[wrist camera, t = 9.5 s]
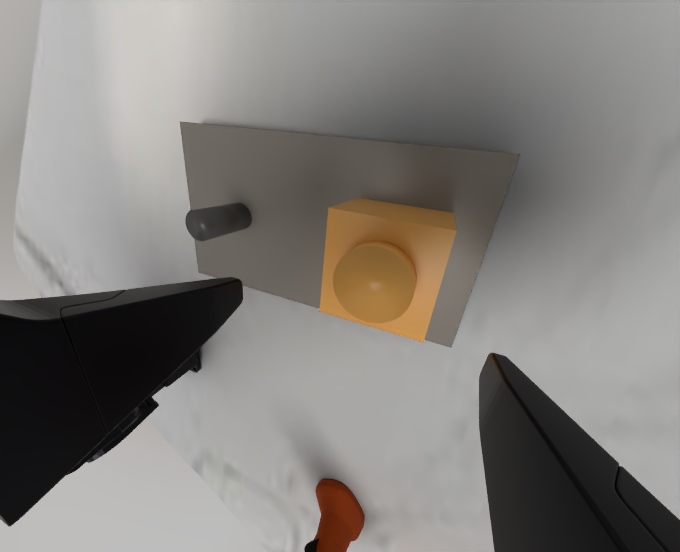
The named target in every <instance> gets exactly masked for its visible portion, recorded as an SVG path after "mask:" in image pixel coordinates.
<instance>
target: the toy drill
mask: <svg viewBox="0 0 680 552" xmlns="http://www.w3.org/2000/svg"><path fill="white" fill-rule="evenodd" d="M316 495H317V499H318V503H319V507H320V511H321V519H320V523H319V527H318V532H317V534H316V536H315V539H314V540H313V541H311V542H309V543H308V544H307V545H306V546H305V552H346V551H347V548H348V546H349V544H350V542H351V541H355V540H356V539H357V538H358V537H359V535H360V533H361V530H362V528H363V525H364V515H363V512H362V510H361V507H360V505H359V504H358V502H357V500H356V498H355V497H354V495H353V494H352V493H351V491H350V490H349V489H348V488H347V487H346V486H345V485H343V484H342V483H340V482H338V481H335V480H331V479H324V480H321V481H320V482H319V483H318V485H317V487H316Z"/></svg>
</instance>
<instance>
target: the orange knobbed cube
mask: <svg viewBox="0 0 680 552" xmlns="http://www.w3.org/2000/svg"><path fill="white" fill-rule="evenodd" d="M456 231H457V229H456V224H455V219H454V214H453V213H451V212H445V211H439V210H432V209H426V208H420V207H414V206H407V205H401V204H395V203H389V202H382V201H376V200H370V199H364V198H357V199H354V200H351V201H348V202H345V203H342V204H339V205H336V206H333V207H329V208H328V218H327V229H326V241H325V252H324V264H323V275H322V287H321V298H320V310H319V311H320V312H323V313H327V314H330V315H333V316H337V317H340V318H343V319H347V320H350V321H353V322H357V323H360V324H363V325H367V326H370V327H373V328H377V329H380V330H384V331H387V332H390V333H394V334H397V335H400V336H404V337H407V338H410V339H414V340H417V341H420V342H424V339H425V336H426V333H427V329H428V326H429V322H430V319H431V316H432V312H433V309H434V306H435V302H436V299H437V295H438V292H439V289H440V285H441V282H442V279H443V275H444V272H445V268H446V265H447V262H448V258H449V255H450V252H451V248H452V245H453V241H454V238H455V235H456Z"/></svg>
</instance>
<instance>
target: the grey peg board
mask: <svg viewBox="0 0 680 552" xmlns="http://www.w3.org/2000/svg"><path fill="white" fill-rule="evenodd" d="M180 127H181V135H182V143H183V151H184V159H185V167H186V175H187V183H188V191H189V199H190V207H191V211H189V212H188V213H187V215H186V226H187V229H188V231H189V233H190V234H191V236H192V237H193V238H194V239H195V247H196V255H197V263H198V271H199V273H202V274H206V275H209V276H213V277H216V278H226V277H234V278H237V279H240V280H241V281H242V285H243V286H246V287H249V288H253V289H256V290H260V291H263V292H266V293H270V294H273V295H276V296H280V297H283V298H286V299H290V300H293V301H296V302H300V303H303V304H307V305H310V306H313V307H317V308H320V298H321V287H322V275H323V264H324V252H325V241H326V229H327V218H328V208H329V207H333V206H336V205H339V204H342V203H345V202H348V201H351V200H354V199H357V198H364V199H370V200H376V201H382V202H389V203H395V204H401V205H407V206H414V207H420V208H426V209H432V210H439V211H445V212H451V213H453V214H454V219H455V224H456V229H457V231H456V235H455V238H454V241H453V245H452V248H451V252H450V255H449V258H448V262H447V265H446V268H445V272H444V275H443V279H442V282H441V285H440V289H439V292H438V295H437V299H436V302H435V306H434V309H433V312H432V316H431V319H430V322H429V326H428V329H427V333H426V336H425V339H424V340H427V341H431V342H434V343H437V344H441V345H444V346H447V347H452V344H453V341H454V338H455V336H456V333H457V330H458V327H459V324H460V322H461V319H462V316H463V313H464V310H465V308H466V305H467V302H468V299H469V296H470V294H471V291H472V288H473V285H474V282H475V280H476V277H477V274H478V271H479V268H480V266H481V263H482V260H483V257H484V254H485V252H486V249H487V246H488V243H489V240H490V238H491V235H492V232H493V229H494V226H495V224H496V221H497V218H498V215H499V212H500V210H501V207H502V204H503V201H504V198H505V196H506V193H507V190H508V187H509V184H510V181H511V179H512V176H513V173H514V170H515V167H516V165H517V162H518V159H519V156H520V154H511V153H501V152H490V151H480V150H470V149H459V148H449V147H438V146H428V145H418V144H407V143H397V142H386V141H376V140H366V139H355V138H345V137H334V136H324V135H314V134H303V133H293V132H282V131H272V130H262V129H251V128H241V127H230V126H220V125H210V124H199V123H189V122H180Z"/></svg>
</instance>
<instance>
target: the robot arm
mask: <svg viewBox="0 0 680 552" xmlns="http://www.w3.org/2000/svg"><path fill="white" fill-rule="evenodd" d="M242 300H243V288H242V281H241V280H240V279H237V278H234V277H226V278H217V279H209V280H201V281H193V282H184V283H176V284H168V285H160V286H151V287H143V288H135V289H128V290H118V291H109V292H101V293H92V294H81V295H71V296H60V297H48V298H37V299H26V300H0V519H1V520H2V521H3V522H4V523H5V524H7V525H8V526H11V525H13V524H14V523H15V522H16V521H18V520H19V519H20V518H21V517H22V516H23V515H24V514H25V513H26V512H28V510H29V509H30V508H32V507H33V506H34V505H35V504H36V503H37V502H38V501H39V500H40V499H41V498H42V497H43V496H44V495H45V494H46V493H48V492H49V491H50V490H51V489H52V488H53V487H54V486H55V485H56V484H57V483H58V482H59V481H60V480H61V479H62V478H63V477H64V476H65V475H68V474H70V473H72V472H74V471H76V470H77V469H78V468H80V467H81V466H82V465H83V464H84V463H85V462H88V463H89V462H92V461H94V460H96V459H98V458H99V457H101V456H102V455H104V454H105V453H107V452H108V451H109V450H111V449H112V448H114V447H115V446H116V445H117V444H119V443H120V442H121V441H122V440H123V439H124V438H125V437H126V436H128V435H129V434H130V433H131V432H132V431H133V430H134V429H135V428H136V427H137V426H138V425H139V424H140V423H141V422H142V421H143V420H144V419H145V418H146V417H147V416H148V415H150V414H151V413H152V412H153V411H154V410H155V409H156V408H157V407H158V406H159V404H158V403H157V402H156V401H154V399H153V398H152V396H153V395H154V394H156V393H157V392H158V391H159V390H161V389H162V388H163V387H168V386H169V385H171V384H172V383H173V382H175V381H176V380H177V379H178V378H180V377H181V376H182V375H184V374H185V373H186V372H187V371H189V370H191V371H194V372H198V371H199V370H200V362H199V355H198V349H199V348H200V347H201V346H202V345H203V344H204V343H205V342H206V341H207V340H208V339H209V338H211V337H212V336H213V335H214V334H215V333H216V332H217V331H218V330H219V328H220V327H221V326H222V325H223V324H224V323H225V322H226V320H227V319H228V318H229V317H230V316H231V315H232V314H233V312H234V311H235V310H236V309H237V308H238V307H239V306H240V304H241V303H242ZM479 430H480V439H481V447H482V455H483V463H484V471H485V479H486V487H487V495H488V503H489V511H490V519H491V527H492V535H493V543H494V550H495V552H680V520H679V519H678V518H677V517H676V516H675V515H674V514H673V513H671V512H670V511H669V510H668V509H667V508H666V507H665V506H664V505H663V504H662V503H661V502H660V501H658V500H657V499H656V498H655V497H654V496H653V495H652V494H651V493H650V492H649V491H648V490H647V489H645V488H644V487H643V486H642V485H641V484H640V483H639V482H638V481H637V480H636V479H635V478H634V477H633V476H632V475H631V474H630V473H629V472H628V471H626V470H625V469H624V468H623V467H621V466H619V463H618V462H617V461H616V460H615V459H614V458H613V457H612V456H611V455H609V454H608V453H607V452H606V451H605V450H604V449H603V448H602V447H601V446H600V445H599V444H598V443H597V442H596V441H595V440H594V439H593V438H592V437H590V436H589V435H588V434H587V433H586V432H585V431H584V430H583V429H582V428H581V427H580V426H579V425H578V424H577V423H576V422H575V421H574V420H573V419H571V418H570V417H569V416H568V415H567V414H566V413H565V412H564V411H563V410H562V409H561V408H560V407H559V406H558V405H557V404H556V403H555V402H554V401H552V400H551V399H550V398H549V397H548V396H547V395H546V394H545V393H544V392H543V391H542V390H541V389H540V388H539V387H538V386H537V385H536V384H535V383H533V382H532V381H531V380H530V379H529V378H528V377H527V376H526V375H525V374H524V373H523V372H522V371H521V370H520V369H519V368H518V367H517V366H516V365H514V364H513V363H512V362H511V361H510V360H509V359H508V358H507V357H506V356H503V355H499V354H496V353H490V354H489V355H488V357H487V359H486V362H485V364H484V366H483V369H482V371H481V373H480V377H479Z"/></svg>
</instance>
